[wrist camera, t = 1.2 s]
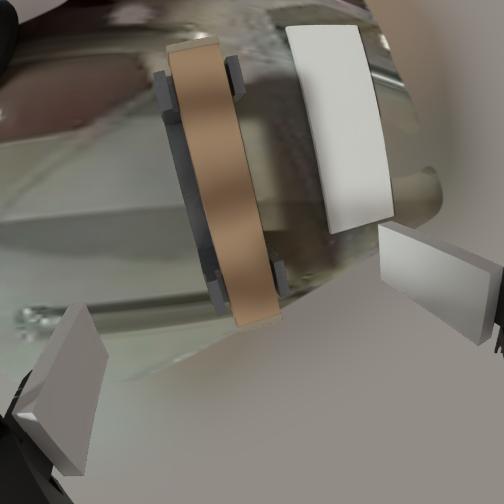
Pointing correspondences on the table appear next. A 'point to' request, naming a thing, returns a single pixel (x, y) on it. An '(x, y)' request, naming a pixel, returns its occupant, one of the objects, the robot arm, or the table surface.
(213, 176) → the rail
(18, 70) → the table surface
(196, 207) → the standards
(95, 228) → the table surface
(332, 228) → the mat
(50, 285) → the table surface
